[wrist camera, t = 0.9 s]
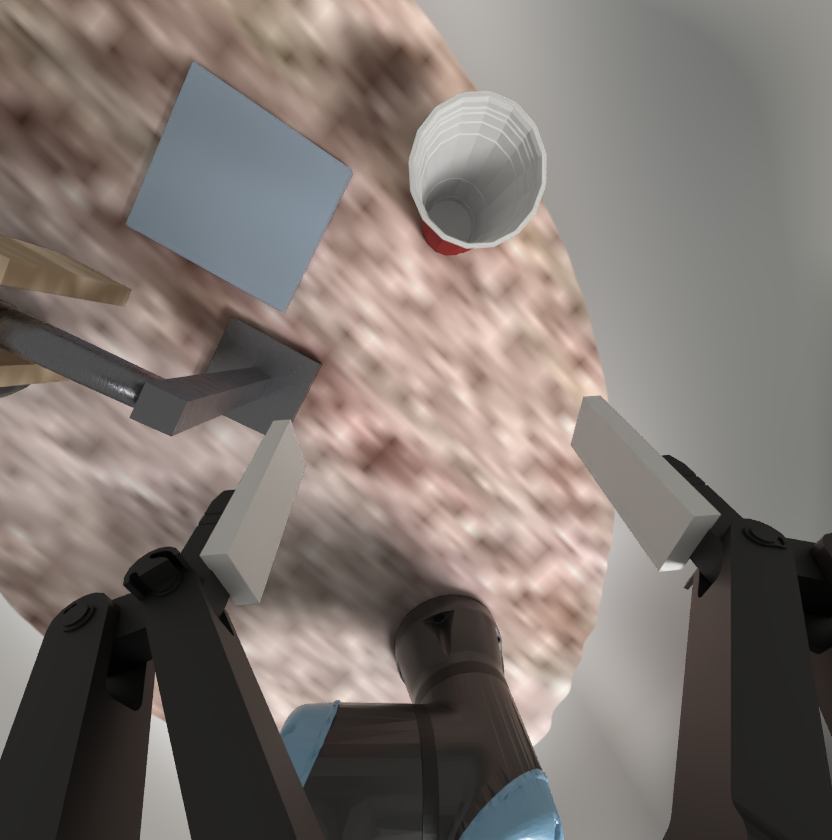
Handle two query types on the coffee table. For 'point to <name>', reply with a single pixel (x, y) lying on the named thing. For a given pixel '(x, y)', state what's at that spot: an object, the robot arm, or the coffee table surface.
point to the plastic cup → (476, 172)
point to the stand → (177, 397)
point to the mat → (238, 190)
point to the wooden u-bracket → (50, 274)
